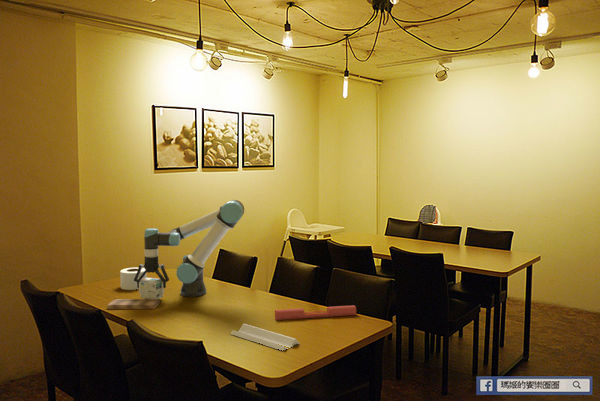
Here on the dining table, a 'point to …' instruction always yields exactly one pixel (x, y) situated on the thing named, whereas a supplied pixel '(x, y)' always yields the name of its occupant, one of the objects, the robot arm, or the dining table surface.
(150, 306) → the walnut board
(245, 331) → the crown molding
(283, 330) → the dining table surface
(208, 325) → the dining table surface
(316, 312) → the blood vessel
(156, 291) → the light bulb box
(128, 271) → the toilet paper roll
